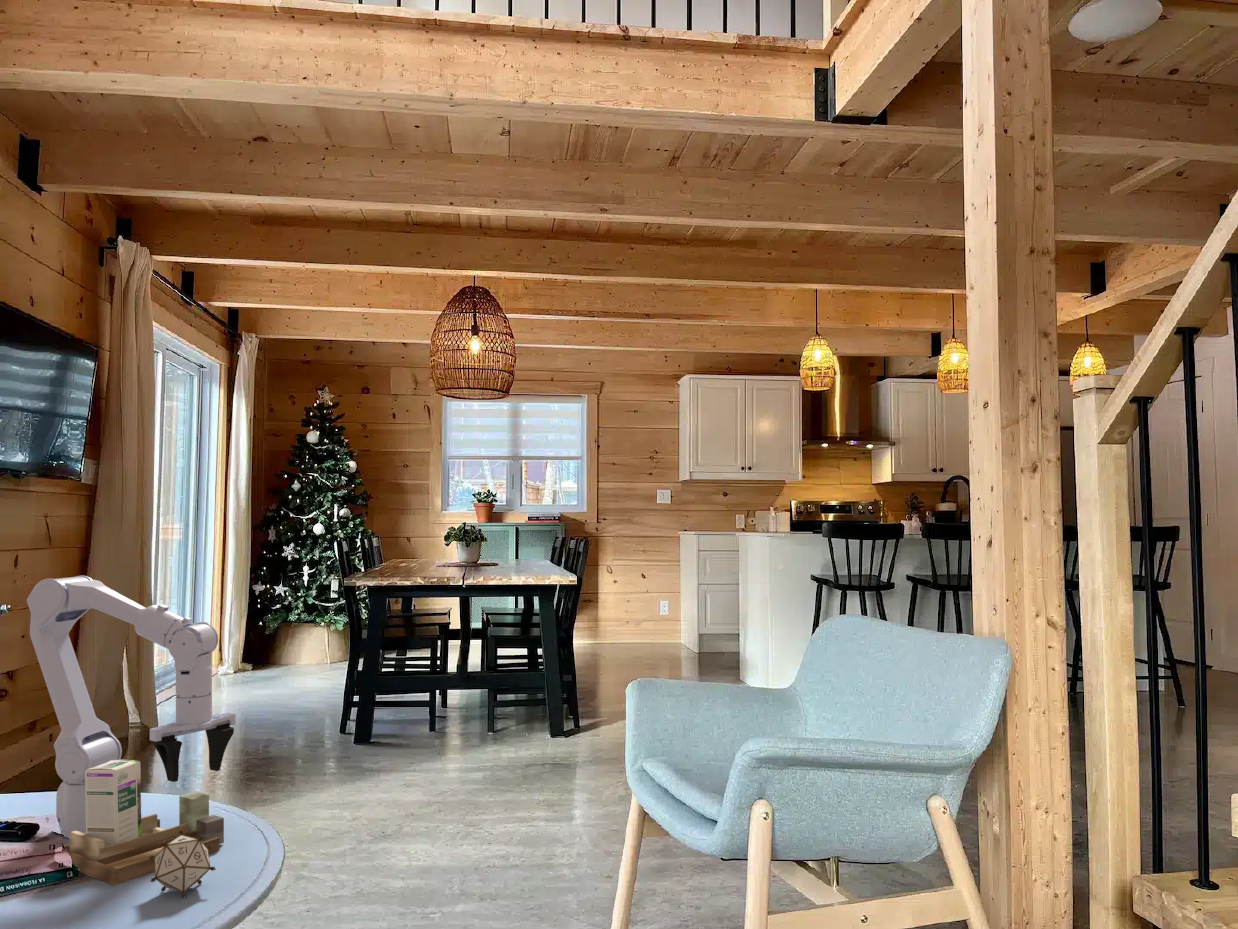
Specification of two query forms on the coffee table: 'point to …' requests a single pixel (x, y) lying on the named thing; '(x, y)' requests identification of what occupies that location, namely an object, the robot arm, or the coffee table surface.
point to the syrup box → (113, 801)
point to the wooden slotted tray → (145, 830)
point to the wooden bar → (205, 827)
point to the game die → (181, 863)
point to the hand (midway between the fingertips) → (194, 775)
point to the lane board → (128, 872)
